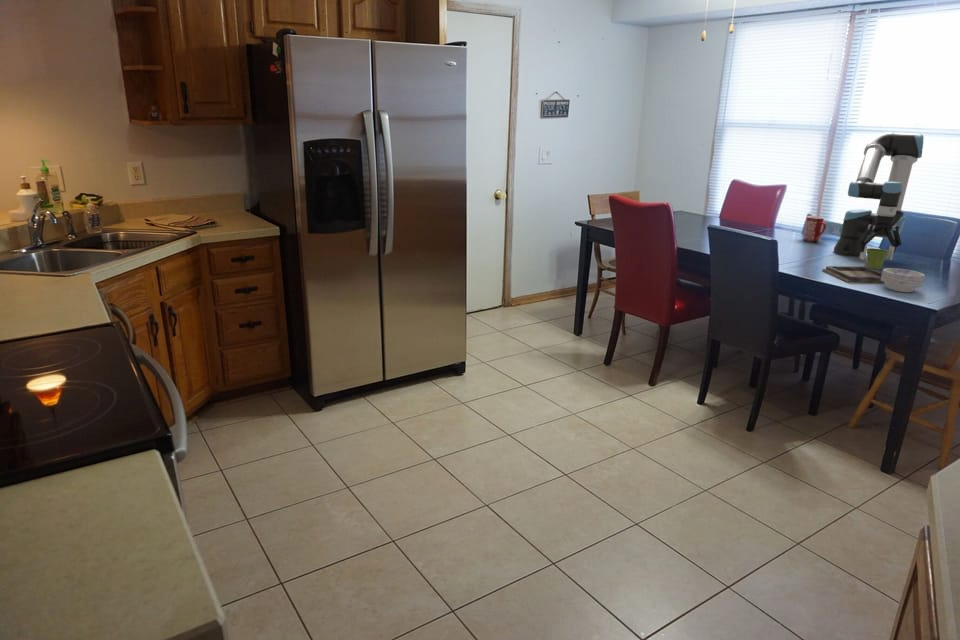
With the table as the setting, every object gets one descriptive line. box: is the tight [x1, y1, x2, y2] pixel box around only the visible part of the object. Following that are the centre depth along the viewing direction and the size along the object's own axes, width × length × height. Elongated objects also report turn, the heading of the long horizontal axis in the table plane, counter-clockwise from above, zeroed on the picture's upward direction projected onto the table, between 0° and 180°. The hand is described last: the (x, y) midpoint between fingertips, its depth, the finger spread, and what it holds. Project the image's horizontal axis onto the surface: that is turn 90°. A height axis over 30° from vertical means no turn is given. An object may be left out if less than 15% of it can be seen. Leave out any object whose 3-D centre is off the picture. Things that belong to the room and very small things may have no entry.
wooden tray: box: [821, 265, 885, 284], centre depth 289 cm, size 22×20×2 cm
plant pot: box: [865, 247, 889, 270], centre depth 306 cm, size 9×9×9 cm
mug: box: [803, 215, 827, 242], centre depth 364 cm, size 13×9×14 cm
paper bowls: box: [881, 267, 926, 293], centre depth 269 cm, size 15×15×8 cm
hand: (875, 259), depth 305 cm, fingers open, 13 cm apart
